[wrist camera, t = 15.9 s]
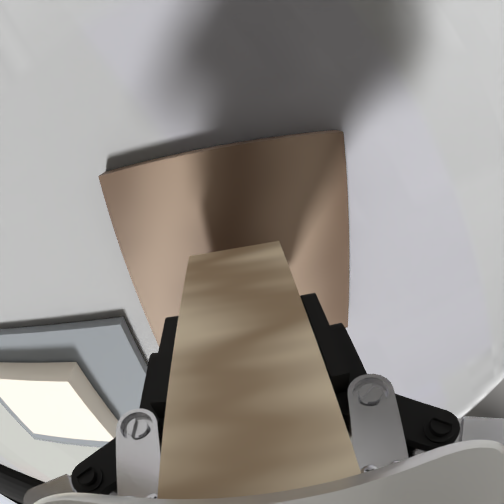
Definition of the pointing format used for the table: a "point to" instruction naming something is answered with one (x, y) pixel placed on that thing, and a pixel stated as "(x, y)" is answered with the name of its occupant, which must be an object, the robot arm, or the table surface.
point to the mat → (83, 362)
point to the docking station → (15, 484)
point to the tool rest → (235, 215)
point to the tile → (56, 400)
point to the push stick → (248, 385)
